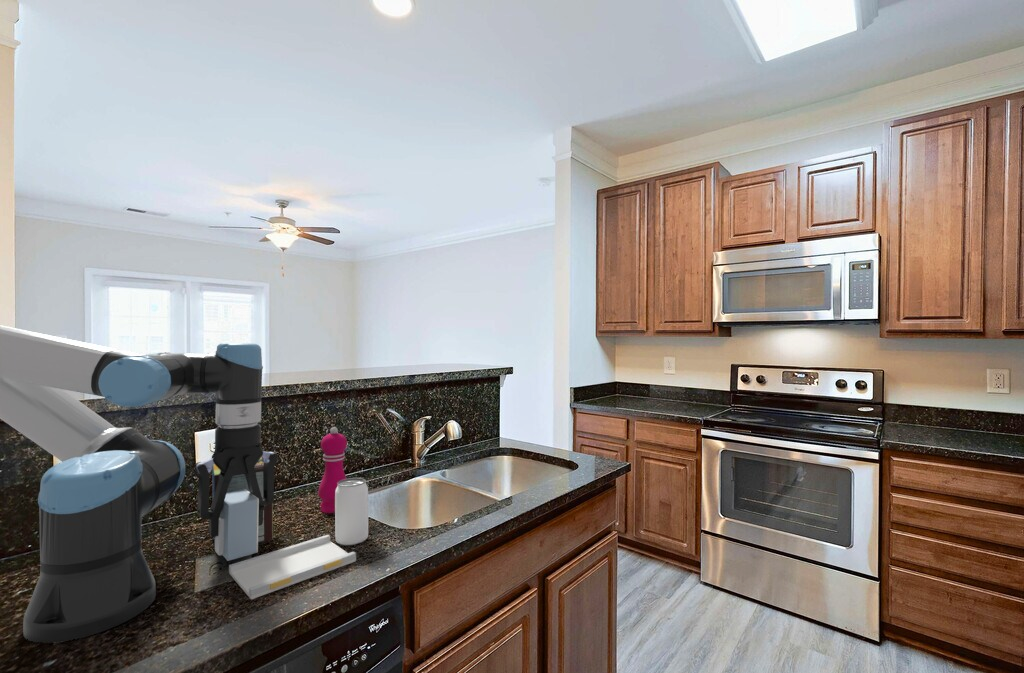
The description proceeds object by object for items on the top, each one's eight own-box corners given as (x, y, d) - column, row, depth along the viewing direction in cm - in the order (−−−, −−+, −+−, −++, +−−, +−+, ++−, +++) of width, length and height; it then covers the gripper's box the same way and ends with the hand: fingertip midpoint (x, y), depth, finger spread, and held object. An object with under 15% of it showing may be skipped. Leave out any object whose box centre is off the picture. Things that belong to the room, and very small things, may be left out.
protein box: (265, 517, 111) (264, 450, 111) (273, 540, 98) (273, 465, 98) (212, 527, 105) (211, 457, 105) (213, 553, 92) (213, 474, 92)
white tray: (251, 600, 76) (251, 590, 76) (229, 573, 85) (229, 565, 85) (356, 561, 89) (356, 553, 89) (327, 541, 97) (327, 534, 97)
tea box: (257, 552, 89) (258, 498, 89) (227, 560, 85) (228, 505, 85) (244, 539, 94) (245, 488, 94) (215, 546, 91) (216, 494, 91)
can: (358, 547, 95) (357, 487, 95) (328, 545, 96) (328, 485, 96) (374, 534, 101) (373, 478, 101) (346, 532, 102) (346, 476, 102)
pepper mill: (313, 508, 116) (313, 426, 116) (342, 501, 121) (342, 423, 121) (325, 516, 111) (324, 431, 111) (354, 508, 116) (354, 427, 116)
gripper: (186, 433, 81) (183, 571, 81) (295, 421, 94) (293, 540, 93) (176, 427, 86) (174, 556, 86) (281, 417, 99) (279, 528, 99)
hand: (236, 547), depth 90 cm, fingers closed on tea box, 5 cm apart
